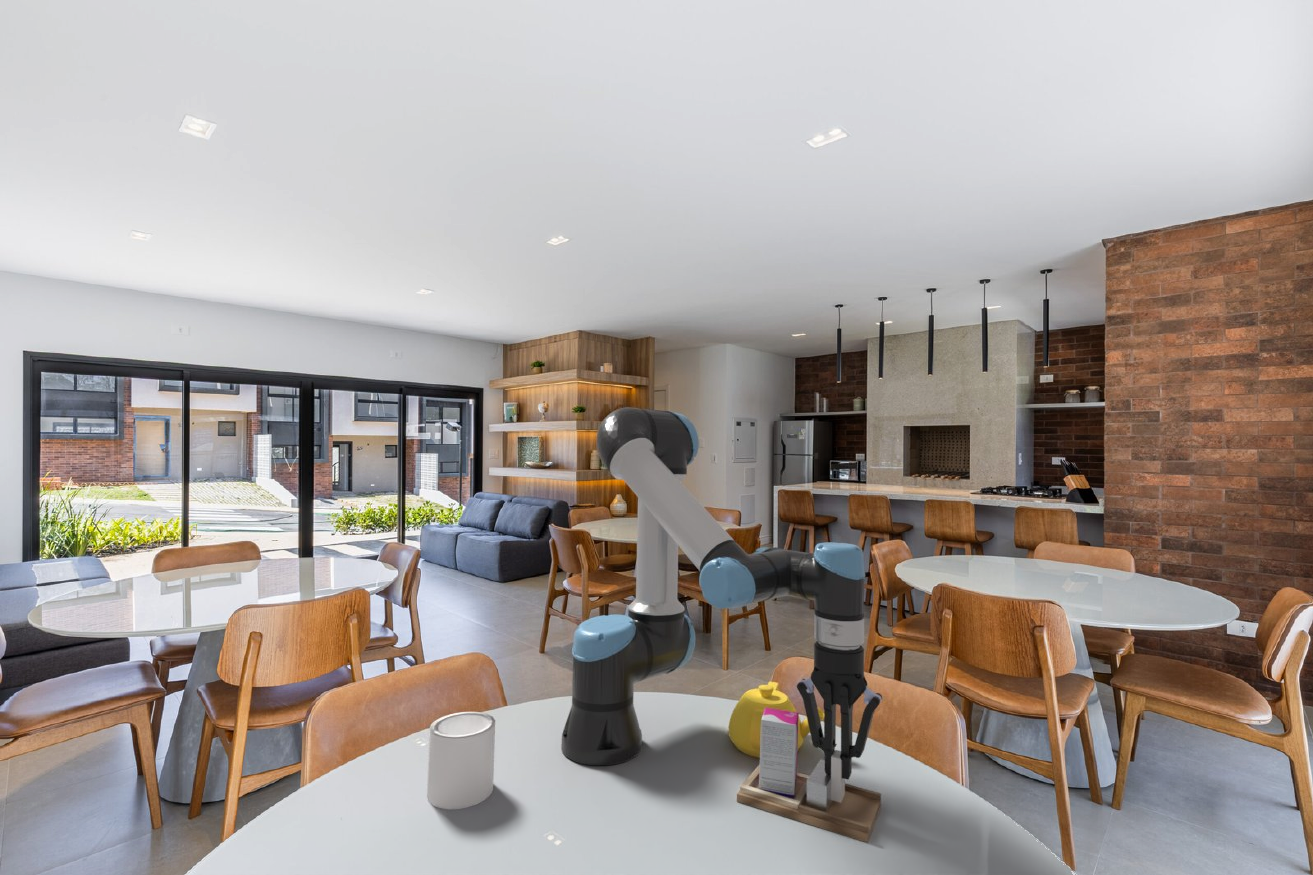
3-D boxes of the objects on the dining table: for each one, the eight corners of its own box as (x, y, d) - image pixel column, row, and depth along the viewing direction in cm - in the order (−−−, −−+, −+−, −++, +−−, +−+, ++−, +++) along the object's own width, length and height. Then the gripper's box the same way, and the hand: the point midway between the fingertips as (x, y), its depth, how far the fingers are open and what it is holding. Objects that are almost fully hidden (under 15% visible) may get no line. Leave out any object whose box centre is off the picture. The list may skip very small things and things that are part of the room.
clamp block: (802, 806, 93) (802, 779, 93) (816, 783, 100) (817, 758, 100) (826, 813, 91) (826, 786, 91) (839, 789, 98) (839, 764, 98)
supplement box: (795, 799, 95) (796, 725, 96) (757, 793, 97) (758, 719, 97) (798, 781, 101) (798, 711, 101) (762, 775, 102) (763, 706, 103)
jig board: (736, 801, 96) (736, 788, 97) (761, 772, 106) (761, 760, 106) (867, 842, 86) (867, 828, 87) (881, 805, 96) (881, 792, 96)
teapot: (820, 781, 103) (821, 715, 104) (716, 761, 110) (717, 699, 110) (829, 733, 122) (830, 677, 123) (740, 718, 128) (740, 666, 129)
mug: (427, 771, 104) (429, 708, 105) (488, 762, 108) (490, 701, 108) (426, 814, 91) (429, 742, 92) (496, 802, 95) (498, 733, 95)
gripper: (791, 642, 95) (789, 796, 94) (877, 656, 89) (877, 822, 88) (804, 631, 102) (803, 775, 101) (886, 644, 95) (886, 798, 94)
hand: (837, 797), depth 94 cm, fingers closed
